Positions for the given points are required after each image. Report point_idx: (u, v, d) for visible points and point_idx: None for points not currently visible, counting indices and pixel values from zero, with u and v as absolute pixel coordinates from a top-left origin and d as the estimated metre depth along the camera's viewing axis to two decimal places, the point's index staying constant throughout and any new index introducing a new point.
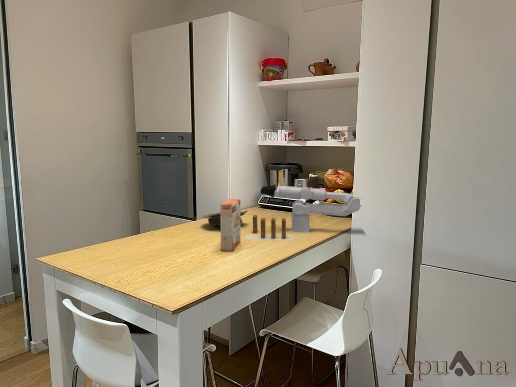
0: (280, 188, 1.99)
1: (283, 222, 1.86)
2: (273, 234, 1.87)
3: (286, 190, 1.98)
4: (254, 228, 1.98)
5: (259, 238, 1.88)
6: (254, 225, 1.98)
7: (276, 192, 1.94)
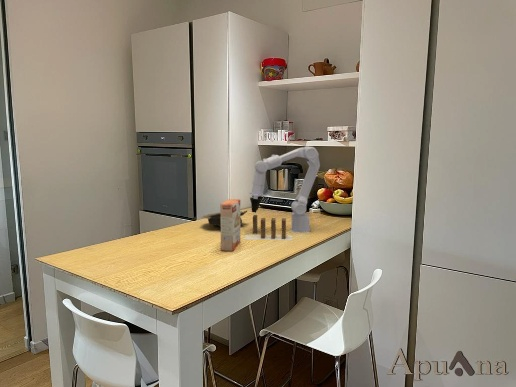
0: (253, 191, 1.96)
1: (283, 222, 1.86)
2: (273, 234, 1.87)
3: (255, 185, 1.95)
4: (254, 228, 1.98)
5: (259, 238, 1.88)
6: (254, 225, 1.98)
7: (254, 196, 1.91)
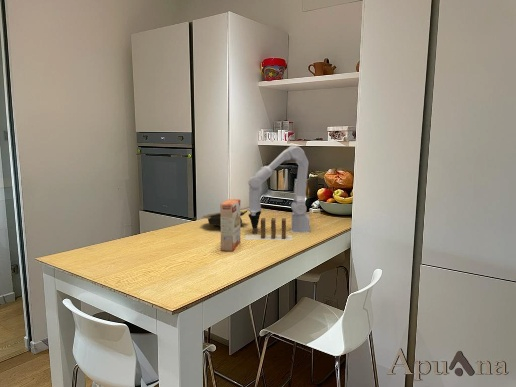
0: (250, 208, 1.97)
1: (283, 222, 1.86)
2: (273, 234, 1.87)
3: (251, 202, 1.96)
4: (254, 228, 1.98)
5: (259, 238, 1.88)
6: None
7: (252, 213, 1.92)
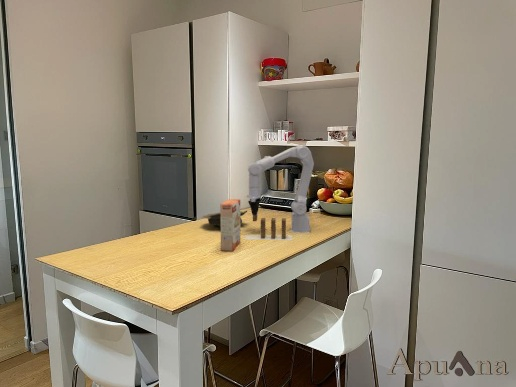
0: (250, 195, 1.96)
1: (283, 222, 1.86)
2: (273, 234, 1.87)
3: (251, 188, 1.95)
4: (254, 215, 1.97)
5: (259, 238, 1.88)
6: None
7: (252, 200, 1.91)
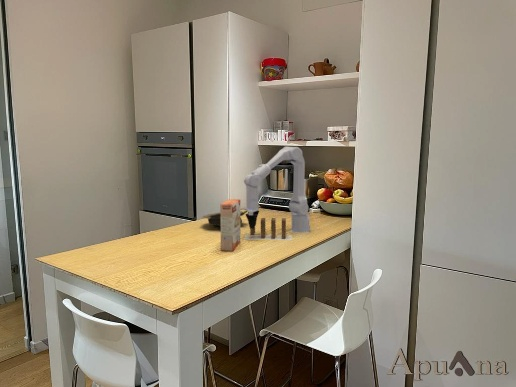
0: (248, 207, 1.87)
1: (283, 222, 1.86)
2: (273, 234, 1.87)
3: (249, 201, 1.86)
4: None
5: (259, 238, 1.88)
6: None
7: (249, 213, 1.82)
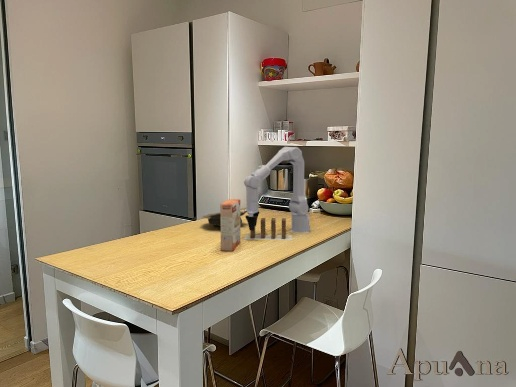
0: (248, 209, 1.87)
1: (283, 222, 1.86)
2: (273, 234, 1.87)
3: (249, 202, 1.86)
4: (252, 232, 1.88)
5: (259, 238, 1.88)
6: None
7: (249, 214, 1.82)
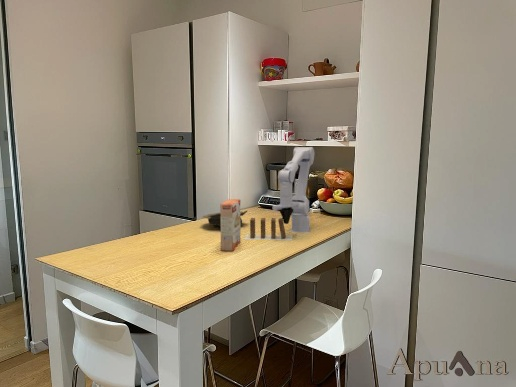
0: (280, 203, 1.87)
1: (280, 222, 1.86)
2: (273, 234, 1.87)
3: (280, 196, 1.86)
4: (252, 232, 1.88)
5: (259, 238, 1.88)
6: (252, 229, 1.88)
7: (273, 208, 1.83)
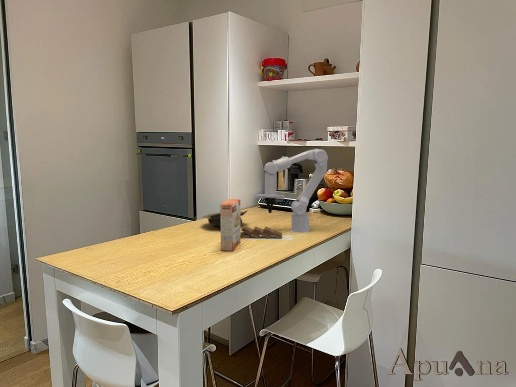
0: None
1: (265, 231, 1.87)
2: (266, 235, 1.87)
3: None
4: (243, 236, 1.89)
5: (259, 238, 1.88)
6: (240, 236, 1.89)
7: (256, 196, 2.00)
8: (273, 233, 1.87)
